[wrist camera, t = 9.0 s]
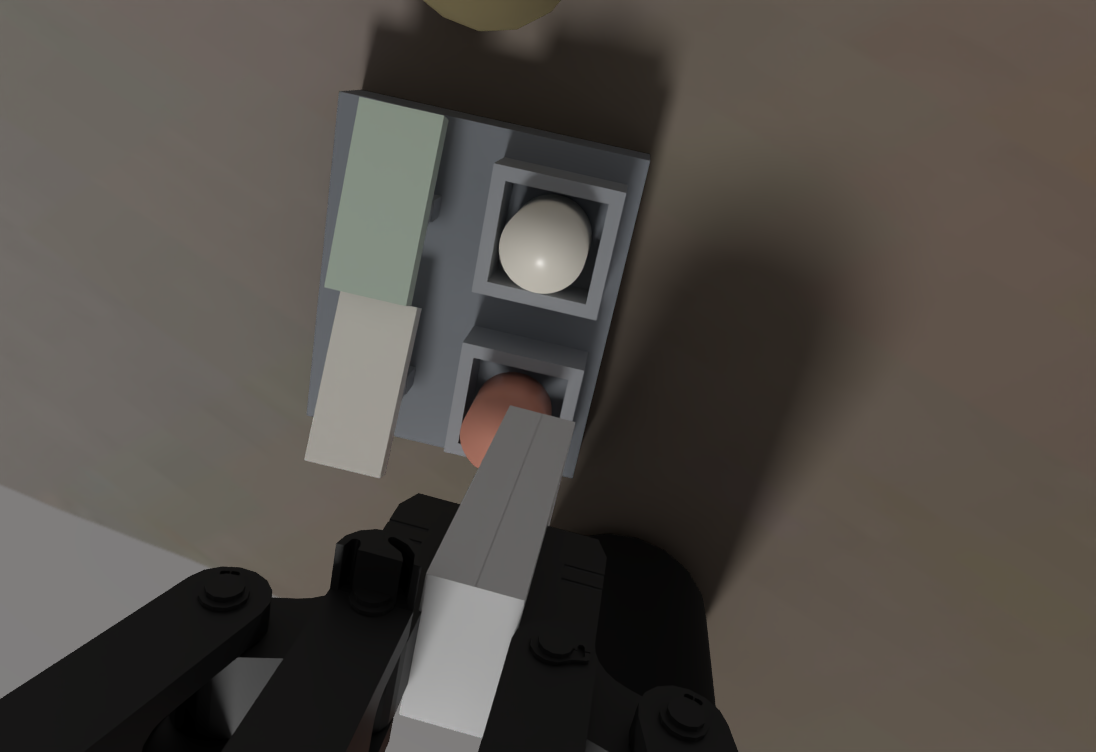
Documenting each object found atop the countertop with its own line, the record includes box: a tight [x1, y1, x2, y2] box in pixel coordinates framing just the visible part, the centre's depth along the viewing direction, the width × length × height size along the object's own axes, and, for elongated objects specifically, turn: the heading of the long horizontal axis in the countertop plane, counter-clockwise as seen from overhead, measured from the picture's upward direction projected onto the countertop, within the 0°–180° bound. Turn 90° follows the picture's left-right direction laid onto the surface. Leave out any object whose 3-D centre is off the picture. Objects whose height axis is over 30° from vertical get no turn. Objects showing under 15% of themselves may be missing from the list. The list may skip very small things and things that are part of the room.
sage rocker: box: [324, 97, 449, 306], centre depth 35 cm, size 4×8×2 cm, turn 168°
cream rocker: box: [304, 291, 422, 478], centre depth 38 cm, size 4×8×2 cm, turn 168°
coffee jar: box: [587, 534, 716, 707], centre depth 39 cm, size 11×11×18 cm
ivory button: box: [499, 194, 592, 294], centre depth 35 cm, size 4×4×3 cm
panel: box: [307, 90, 650, 478], centre depth 38 cm, size 14×16×6 cm
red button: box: [460, 372, 552, 468], centre depth 36 cm, size 4×4×3 cm
